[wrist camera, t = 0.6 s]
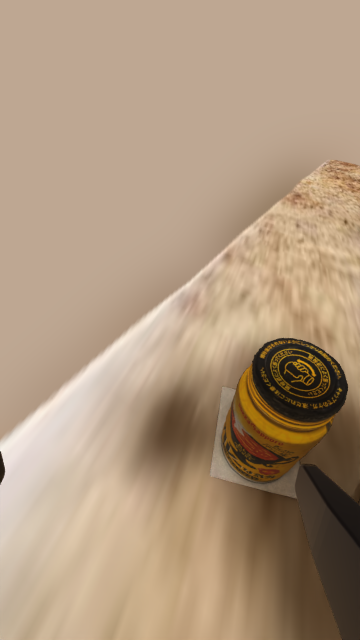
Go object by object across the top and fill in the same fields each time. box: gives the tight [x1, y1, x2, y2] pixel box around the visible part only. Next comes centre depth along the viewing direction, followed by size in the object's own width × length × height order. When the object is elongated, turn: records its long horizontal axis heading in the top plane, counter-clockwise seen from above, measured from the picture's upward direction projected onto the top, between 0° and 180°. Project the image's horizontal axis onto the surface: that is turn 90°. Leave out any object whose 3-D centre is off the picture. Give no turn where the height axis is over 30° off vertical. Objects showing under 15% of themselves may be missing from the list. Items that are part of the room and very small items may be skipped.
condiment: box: [210, 338, 348, 499], centre depth 20 cm, size 7×8×12 cm
